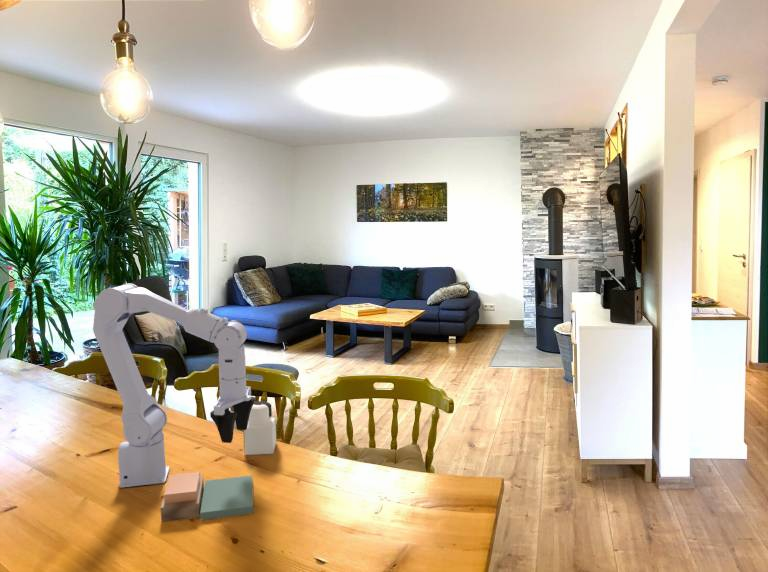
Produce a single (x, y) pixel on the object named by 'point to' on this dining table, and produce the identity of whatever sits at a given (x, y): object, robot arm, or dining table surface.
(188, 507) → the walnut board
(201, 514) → the teal rectangular slab
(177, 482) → the terracotta tile
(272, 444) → the medicine bottle
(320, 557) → the dining table surface
